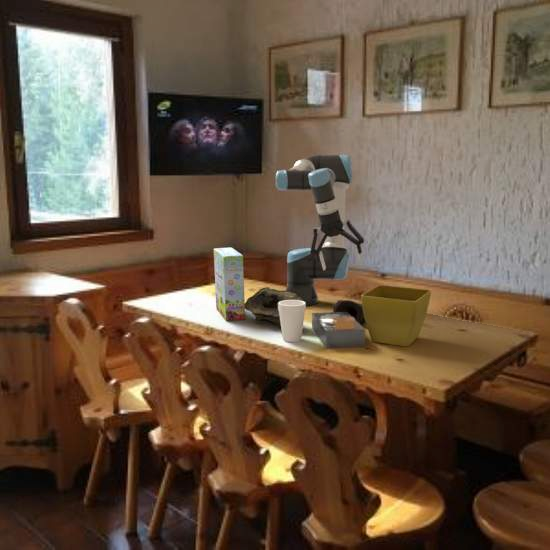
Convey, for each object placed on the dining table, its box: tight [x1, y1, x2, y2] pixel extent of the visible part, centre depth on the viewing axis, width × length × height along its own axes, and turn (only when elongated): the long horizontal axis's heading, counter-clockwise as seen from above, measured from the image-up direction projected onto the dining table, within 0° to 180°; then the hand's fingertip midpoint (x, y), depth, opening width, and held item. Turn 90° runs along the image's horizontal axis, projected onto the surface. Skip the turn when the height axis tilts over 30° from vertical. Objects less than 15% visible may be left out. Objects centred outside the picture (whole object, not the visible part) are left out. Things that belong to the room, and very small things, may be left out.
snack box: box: [213, 247, 246, 322], centre depth 246 cm, size 22×9×26 cm, turn 16°
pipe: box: [333, 299, 366, 324], centre depth 236 cm, size 10×15×15 cm
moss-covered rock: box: [244, 286, 302, 326], centre depth 233 cm, size 28×13×15 cm
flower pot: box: [360, 284, 432, 347], centre depth 210 cm, size 19×19×17 cm
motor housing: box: [311, 311, 366, 349], centre depth 214 cm, size 24×13×9 cm, turn 8°
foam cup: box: [278, 300, 307, 343], centre depth 211 cm, size 10×9×13 cm
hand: (342, 265), depth 229 cm, fingers open, 13 cm apart
